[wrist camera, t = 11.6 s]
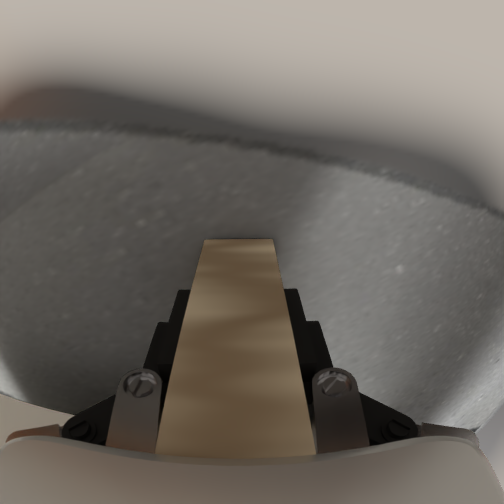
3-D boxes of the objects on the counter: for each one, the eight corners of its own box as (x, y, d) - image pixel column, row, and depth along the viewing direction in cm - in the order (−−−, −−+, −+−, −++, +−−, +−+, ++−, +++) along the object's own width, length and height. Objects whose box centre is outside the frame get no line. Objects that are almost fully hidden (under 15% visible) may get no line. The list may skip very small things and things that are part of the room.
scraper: (272, 238, 14) (323, 497, 4) (262, 446, 22) (270, 567, 12) (204, 239, 14) (147, 496, 4) (225, 446, 21) (223, 568, 12)
